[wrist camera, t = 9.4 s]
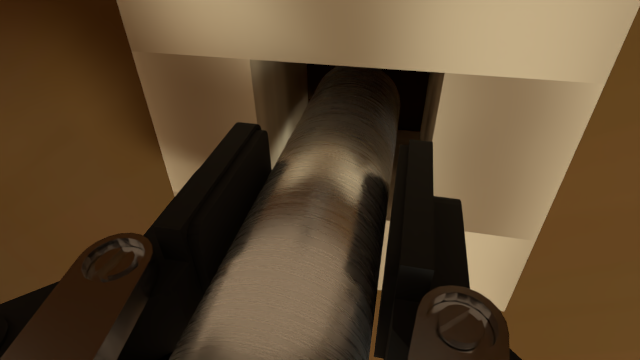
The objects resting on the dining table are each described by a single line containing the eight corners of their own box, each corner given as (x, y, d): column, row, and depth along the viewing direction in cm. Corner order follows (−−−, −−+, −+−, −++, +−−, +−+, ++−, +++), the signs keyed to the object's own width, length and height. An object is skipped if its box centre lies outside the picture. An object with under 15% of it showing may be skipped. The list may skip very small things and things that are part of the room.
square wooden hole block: (583, -112, 12) (689, -108, 7) (485, 203, 19) (504, 310, 14) (203, -107, 14) (86, -103, 9) (246, 174, 21) (193, 258, 16)
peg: (405, 65, 13) (340, 581, 3) (395, 145, 14) (335, 625, 5) (314, 59, 13) (36, 487, 4) (315, 137, 15) (129, 558, 6)
